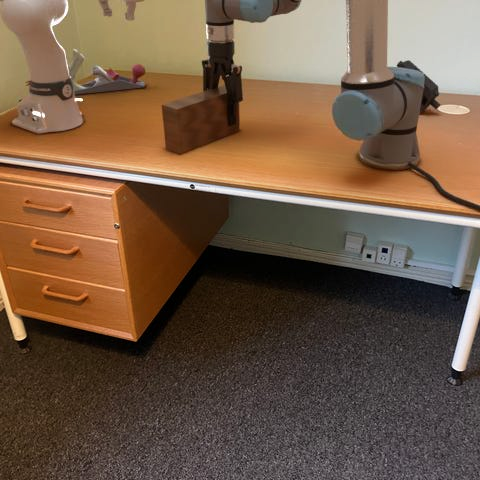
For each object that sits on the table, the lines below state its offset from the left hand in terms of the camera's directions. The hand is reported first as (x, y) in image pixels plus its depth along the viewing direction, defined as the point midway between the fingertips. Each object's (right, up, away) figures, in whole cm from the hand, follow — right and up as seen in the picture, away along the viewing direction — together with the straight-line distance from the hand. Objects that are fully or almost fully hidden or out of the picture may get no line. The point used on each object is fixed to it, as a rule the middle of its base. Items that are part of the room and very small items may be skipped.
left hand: (118, 18), depth 138 cm
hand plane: (-19, -1, +61) cm, 63 cm away
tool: (+86, -15, +35) cm, 94 cm away
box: (+21, -28, +16) cm, 39 cm away
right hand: (+26, -23, +19) cm, 40 cm away
